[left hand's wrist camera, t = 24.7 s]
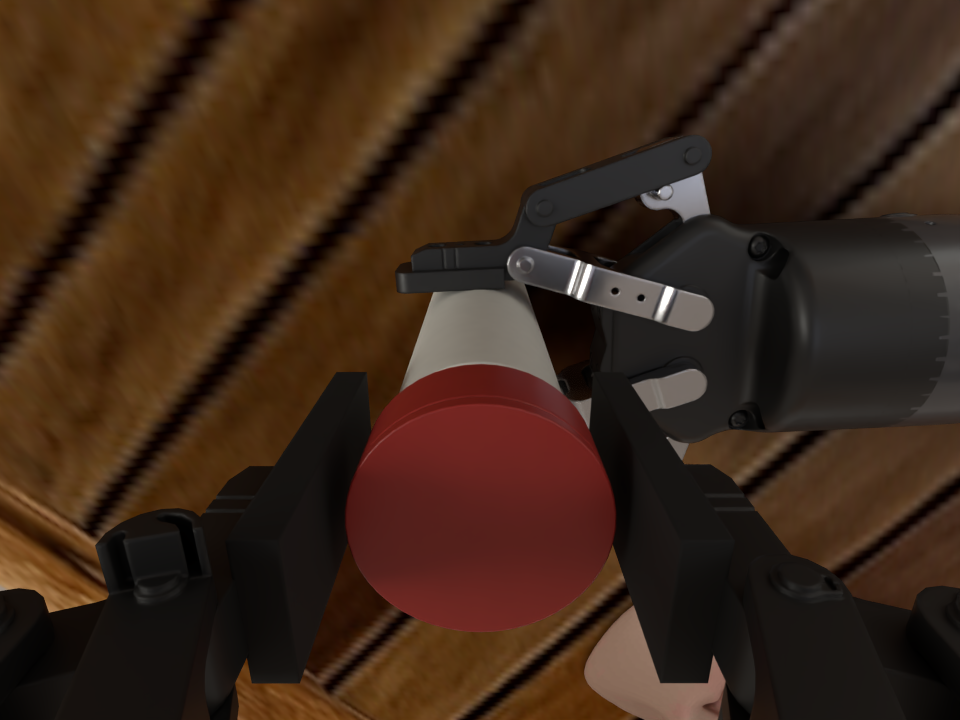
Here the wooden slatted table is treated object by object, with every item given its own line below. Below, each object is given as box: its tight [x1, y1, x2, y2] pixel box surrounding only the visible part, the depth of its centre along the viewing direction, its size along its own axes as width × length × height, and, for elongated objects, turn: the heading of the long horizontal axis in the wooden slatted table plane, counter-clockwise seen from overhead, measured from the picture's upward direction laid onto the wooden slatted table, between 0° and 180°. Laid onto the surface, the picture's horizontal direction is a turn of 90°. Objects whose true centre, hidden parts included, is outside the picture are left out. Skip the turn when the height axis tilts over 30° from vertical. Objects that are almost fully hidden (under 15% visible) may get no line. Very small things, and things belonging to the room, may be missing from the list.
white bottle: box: [400, 280, 562, 393], centre depth 19 cm, size 4×4×16 cm
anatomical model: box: [584, 605, 725, 720], centre depth 32 cm, size 13×4×12 cm
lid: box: [345, 364, 617, 632], centre depth 11 cm, size 5×5×2 cm
